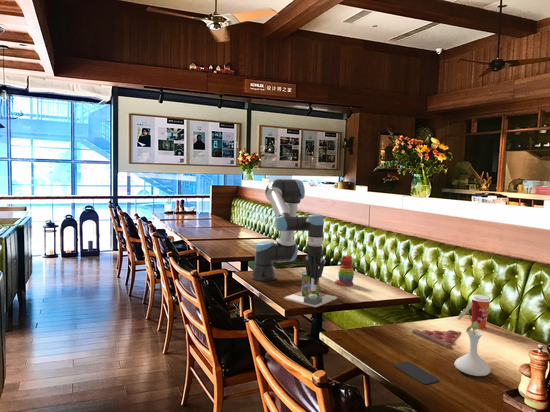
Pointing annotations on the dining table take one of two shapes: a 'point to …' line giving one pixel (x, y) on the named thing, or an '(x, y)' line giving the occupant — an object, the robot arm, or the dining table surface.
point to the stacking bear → (345, 272)
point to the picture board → (310, 302)
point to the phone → (416, 373)
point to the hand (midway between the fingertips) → (313, 290)
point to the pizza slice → (439, 336)
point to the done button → (313, 296)
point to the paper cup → (480, 309)
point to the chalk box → (308, 286)
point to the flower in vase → (472, 351)
